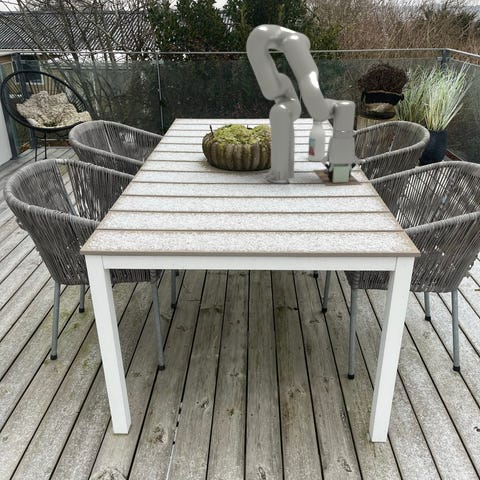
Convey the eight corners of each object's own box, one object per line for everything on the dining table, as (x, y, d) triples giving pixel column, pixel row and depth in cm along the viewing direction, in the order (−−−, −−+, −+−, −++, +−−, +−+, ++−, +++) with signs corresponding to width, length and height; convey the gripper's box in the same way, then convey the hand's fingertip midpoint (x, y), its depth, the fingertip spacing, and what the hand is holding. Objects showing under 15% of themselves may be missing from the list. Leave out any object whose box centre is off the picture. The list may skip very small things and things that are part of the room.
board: (361, 188, 182) (363, 161, 178) (326, 189, 182) (327, 163, 177) (344, 171, 204) (345, 147, 200) (312, 173, 204) (313, 149, 199)
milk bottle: (324, 157, 228) (325, 115, 220) (325, 161, 221) (327, 118, 213) (308, 157, 229) (309, 116, 221) (308, 161, 222) (309, 118, 214)
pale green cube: (348, 182, 184) (349, 167, 182) (333, 182, 184) (334, 167, 181) (344, 177, 189) (345, 163, 187) (329, 178, 189) (330, 163, 187)
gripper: (361, 131, 183) (357, 176, 190) (318, 132, 182) (315, 177, 189) (367, 135, 176) (363, 182, 184) (322, 136, 175) (319, 183, 183)
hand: (338, 179), depth 186 cm, fingers closed on pale green cube, 5 cm apart
